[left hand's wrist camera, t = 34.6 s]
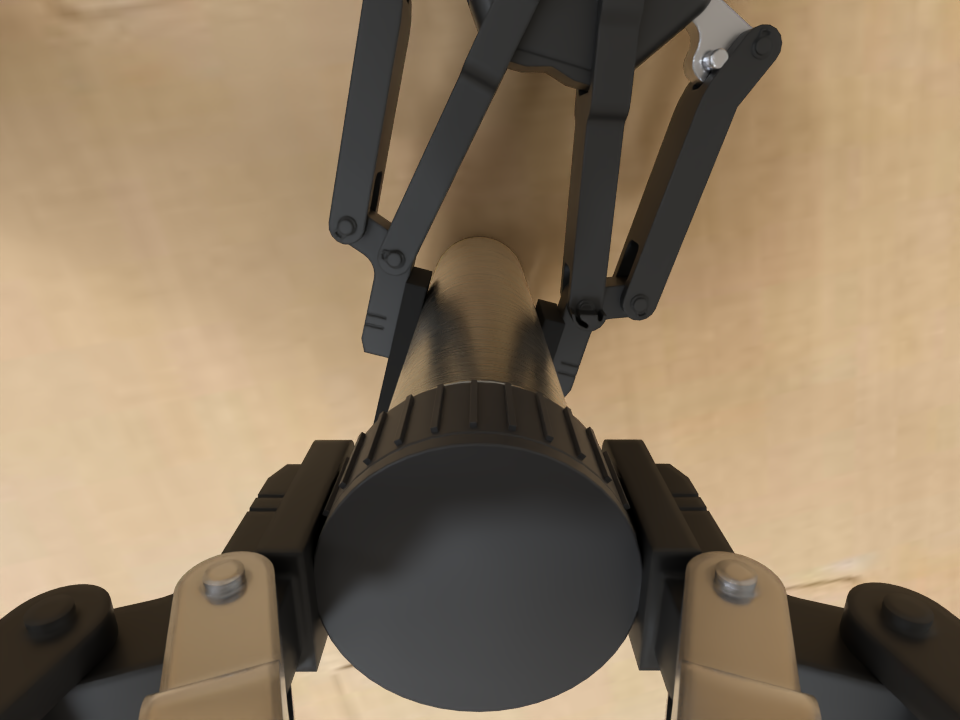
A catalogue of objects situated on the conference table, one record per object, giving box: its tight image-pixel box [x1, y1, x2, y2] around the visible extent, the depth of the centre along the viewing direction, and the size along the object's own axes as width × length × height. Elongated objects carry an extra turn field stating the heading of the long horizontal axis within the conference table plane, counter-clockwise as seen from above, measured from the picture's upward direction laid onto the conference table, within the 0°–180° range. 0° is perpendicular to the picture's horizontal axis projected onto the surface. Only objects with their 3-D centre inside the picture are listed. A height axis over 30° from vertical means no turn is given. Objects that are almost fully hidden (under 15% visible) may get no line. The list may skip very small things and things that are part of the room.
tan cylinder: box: [388, 237, 567, 411], centre depth 19 cm, size 4×4×20 cm
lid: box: [313, 380, 643, 712], centre depth 10 cm, size 5×5×2 cm
